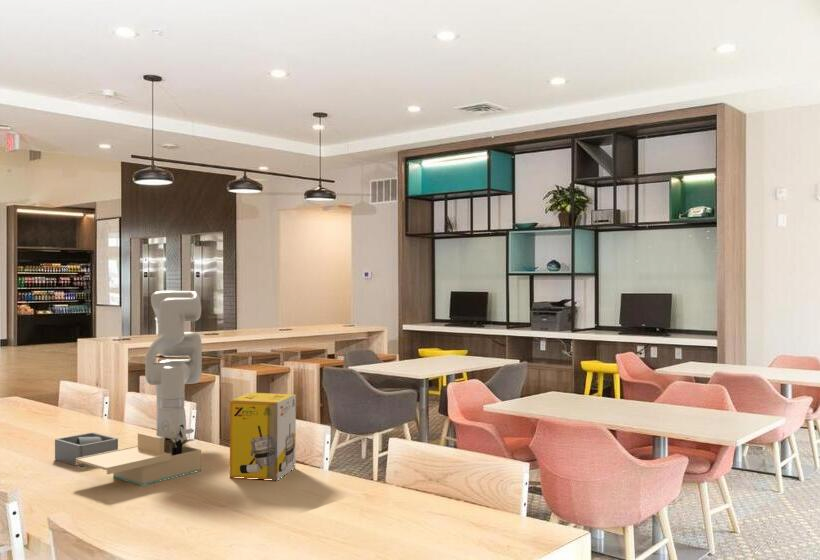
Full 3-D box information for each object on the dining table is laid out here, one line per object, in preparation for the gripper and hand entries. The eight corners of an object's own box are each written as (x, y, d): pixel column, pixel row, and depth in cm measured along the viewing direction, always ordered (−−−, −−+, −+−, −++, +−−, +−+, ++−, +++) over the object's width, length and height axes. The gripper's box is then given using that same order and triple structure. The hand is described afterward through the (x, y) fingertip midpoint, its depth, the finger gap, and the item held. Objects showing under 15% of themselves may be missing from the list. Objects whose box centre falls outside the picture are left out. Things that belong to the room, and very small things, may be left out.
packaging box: (277, 481, 241) (277, 402, 241) (229, 478, 244) (229, 400, 244) (295, 468, 257) (295, 394, 256) (250, 465, 260) (250, 392, 260)
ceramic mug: (104, 458, 268) (104, 436, 268) (79, 461, 263) (79, 439, 263) (96, 453, 276) (96, 431, 276) (72, 456, 272) (72, 434, 272)
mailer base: (171, 463, 262) (171, 442, 262) (201, 470, 253) (201, 449, 252) (113, 476, 245) (113, 455, 245) (142, 485, 235) (142, 462, 235)
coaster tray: (92, 451, 278) (92, 432, 278) (118, 458, 268) (118, 438, 268) (54, 459, 266) (54, 439, 266) (79, 466, 256) (79, 446, 256)
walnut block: (162, 459, 253) (162, 441, 252) (173, 457, 256) (173, 439, 256) (170, 461, 250) (170, 443, 250) (182, 459, 253) (182, 441, 253)
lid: (138, 451, 253) (138, 430, 253) (171, 459, 242) (171, 438, 242) (75, 464, 235) (75, 442, 235) (107, 474, 225) (107, 451, 225)
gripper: (147, 401, 255) (147, 456, 255) (178, 407, 245) (178, 464, 245) (166, 398, 261) (166, 451, 261) (197, 404, 251) (197, 459, 251)
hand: (172, 457), depth 253 cm, fingers closed on walnut block, 4 cm apart
